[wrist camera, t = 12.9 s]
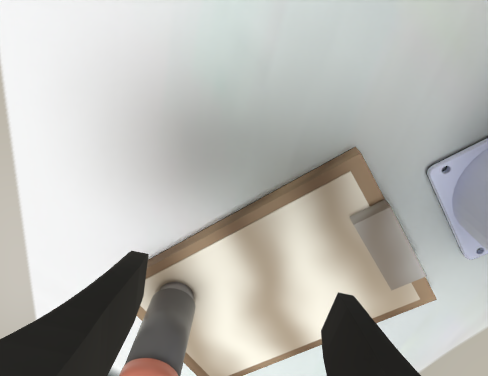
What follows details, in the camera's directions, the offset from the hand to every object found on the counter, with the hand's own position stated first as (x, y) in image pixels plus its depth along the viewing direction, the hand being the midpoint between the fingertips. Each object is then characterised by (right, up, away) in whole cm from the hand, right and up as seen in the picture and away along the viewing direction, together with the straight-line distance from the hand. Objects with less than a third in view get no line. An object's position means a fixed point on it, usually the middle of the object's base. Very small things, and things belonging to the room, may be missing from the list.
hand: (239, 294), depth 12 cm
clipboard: (+2, -3, +13) cm, 13 cm away
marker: (-5, -4, +12) cm, 14 cm away
